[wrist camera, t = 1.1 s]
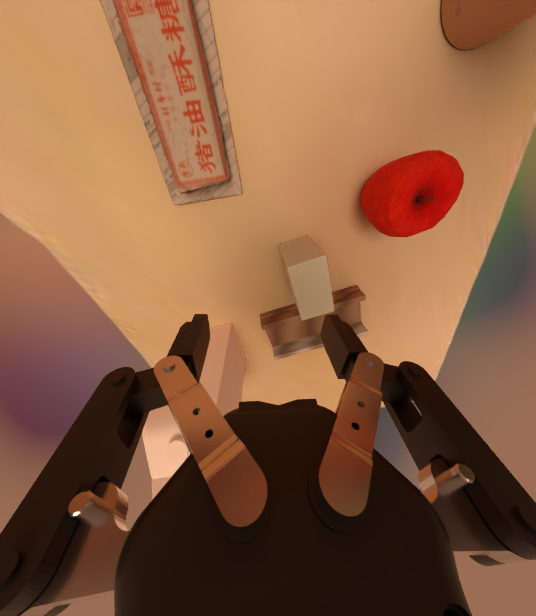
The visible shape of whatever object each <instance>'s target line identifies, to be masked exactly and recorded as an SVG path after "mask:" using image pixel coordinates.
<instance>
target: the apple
mask: <svg viewBox="0 0 536 616" xmlns="http://www.w3.org/2000/svg"><path fill="white" fill-rule="evenodd" d="M463 180H464V173H463V171H462V169H461V167H460V165H459V163H458V161H457V160H456V159H455V158H454V157H452V156H450V155H448V154H446V153H444V152H442V151H440V150H437V151H424V152H419V153H415V154H412V155H408V156H405V157H402V158H400V159H397V160H395V161H392V162H390V163H388V164H387V165H385V166H383V167H382V168H380V169H379V170H378V171H377V172H376V173H374V174H373V175H372V176H371V178H370V179H369V180H368V181H367V183H366V185H365V187H364V189H363V191H362V197H361V203H362V207H363V210H364V212H365V215H366V216H367V218H368V219H369V221H370V222H371V223H372V225H373V226H374V227H375V228H376V229H377V230H378V231H379V232H381V233H383V234H385V235H388V236H392V237H409V236H412V235H415V234H417V233H420V232H423V231H425V230H428V229H430V228H433V227H434V226H435V225H436V224H437V223H438V222H439V221H440V220H442V219H443V218H444V217H445V215H446V214H447V213H448V211H449V210H450V208H451V207H452V206H453V204H454V203H455V202H456V200H457V198H458V196H459V193H460V191H461V189H462V186H463Z"/></svg>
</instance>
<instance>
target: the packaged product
mask: <svg viewBox="0 0 536 616" xmlns="http://www.w3.org/2000/svg"><path fill="white" fill-rule="evenodd" d="M100 3H101V5H102V8H103V10H104V12H105V15H106V19H107V21H108V24H109V27H110V29H111V32H112V35H113V38H114V41H115V43H116V46H117V49H118V52H119V54H120V57H121V60H122V63H123V65H124V68H125V71H126V73H127V76H128V79H129V82H130V85H131V87H132V90H133V93H134V96H135V99H136V102H137V105H138V108H139V111H140V113H141V116H142V118H143V121H144V124H145V127H146V130H147V132H148V135H149V138H150V140H151V143H152V146H153V149H154V151H155V154H156V157H157V160H158V163H159V166H160V169H161V171H162V174H163V177H164V180H165V182H166V185H167V188H168V191H169V193H170V196H171V199H172V202H173V204H174V205H179V204H187V203H192V202H197V201H204V200H212V199H218V198H224V197H229V196H234V195H238V194H242V189H241V183H240V177H239V170H238V164H237V158H236V153H235V148H234V143H233V138H232V133H231V127H230V122H229V117H228V110H227V104H226V98H225V92H224V87H223V81H222V77H221V72H220V67H219V59H218V53H217V47H216V41H215V36H214V30H213V26H212V21H211V16H210V11H209V6H208V1H207V0H100Z"/></svg>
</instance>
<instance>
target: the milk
mask: <svg viewBox="0 0 536 616" xmlns="http://www.w3.org/2000/svg"><path fill="white" fill-rule="evenodd" d="M209 328H210V342H209V346H208V350H207V354H206V358H205V362H204V366H203V370H202V374H201V377H200V381H199V382H200V383H201V384H202V385H203V387H204V388H205V390H206V391H207V393H208V394H209V396H210V397H211V399H212V400H213V402H214V403H215V405H216V406H217V408H218V409H219V411H220V412H221V414H222V415H223V416H224V415H225V414H227V413H228V412H230V411H232V410H234V409H237V408H239V402H241V398H242V388H243V378H244V368H245V357H244V354H243V352H242V349H241V346H240V344H239V341H238V339H237V336H236V334H235V331H234V328H233V326H232V323H229V324H224V325H219V326H214V327H209ZM176 336H177V335H176ZM175 339H176V338H175ZM142 432H143V441H144V445H145V450H146V455H147V460H148V464H149V469H150V473H151V477H152V479H153V480H152V500H153V499H154V497H155V496H156V495H157V494H158V492H159V491H160V490H161V489H162V488H163V486H164V485H165V484H166V483H167V482H168V480H169V479H170V478H171V477H172V475H173V474H174V473H175V472H176V471H177V469H178V468H179V467H180V466H181V465H182V463H183V462H184V461H185V460H186V458H187V457H188V456H189V455H190V452H189V450H188V448H187V446H186V443H185V441H184V439H183V437H182V434H181V432H180V430H179V428H178V426H177V424H176V421H175V419H174V417H173V415H172V413H171V411H170V408H169V406H168V405H167V406H164V407H161V408H158V409H155V410H152V411H150V412H149V415H148V417H147V420H146V423H145V425H144V428H143V431H142Z"/></svg>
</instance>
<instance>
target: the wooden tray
mask: <svg viewBox="0 0 536 616" xmlns="http://www.w3.org/2000/svg"><path fill="white" fill-rule="evenodd" d="M332 296H333V302H334V303H333V304H334V311H333V312H330V313H326V314H337V315H338V316H339V317H340V319H341V320H342V322H343V321H345V322H346V323H347V324H349V325H350V326H351V327H352V329H353V330H354V332H355V333H356V335H357V337H360V336H364V335H367V334H368V330H367V329H366V328H365V326H364V325H363V324H362V322H361V312H360V301H363V300H365V294H364V293H363V292H362V291H361V290H360V289H359V287H358V286H357V285H355V286H351V287H348V288H345V289H342V290H338V291H335V292H332ZM326 314H323V315H320V316H316V317H313V318H309V319H306V320H303V321H302V320H301V317H300V314H299V311H298V308H297V306H296V304H293V305H289V306H286V307H283V308H280V309H276V310H273V311H270V312H266V313H263V314H260V319H261V327H262V329H263V330H266V332H267V335H268V337H269V339H270V342H271V344H272V346H273V353H274V358H275V360H277V359H281V358H284V357H288V356H291V355H295V354H299V353H302V352H306V351H309V350H313V349H317V348H320V347H324V345H323V343H322V340H321V329H322V325H323V321H324V317H325V315H326Z"/></svg>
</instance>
